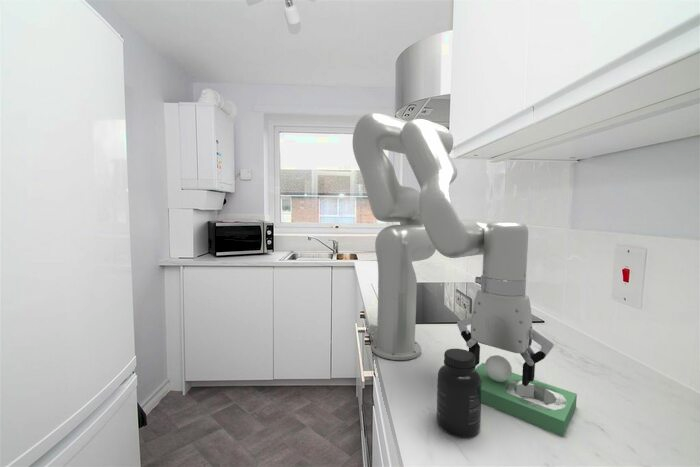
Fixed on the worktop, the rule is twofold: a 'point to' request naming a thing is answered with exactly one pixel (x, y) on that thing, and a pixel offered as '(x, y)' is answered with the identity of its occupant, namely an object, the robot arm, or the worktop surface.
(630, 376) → the worktop surface
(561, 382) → the worktop surface
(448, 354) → the supplement bottle
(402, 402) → the worktop surface
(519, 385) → the green flat slab
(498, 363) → the ball
